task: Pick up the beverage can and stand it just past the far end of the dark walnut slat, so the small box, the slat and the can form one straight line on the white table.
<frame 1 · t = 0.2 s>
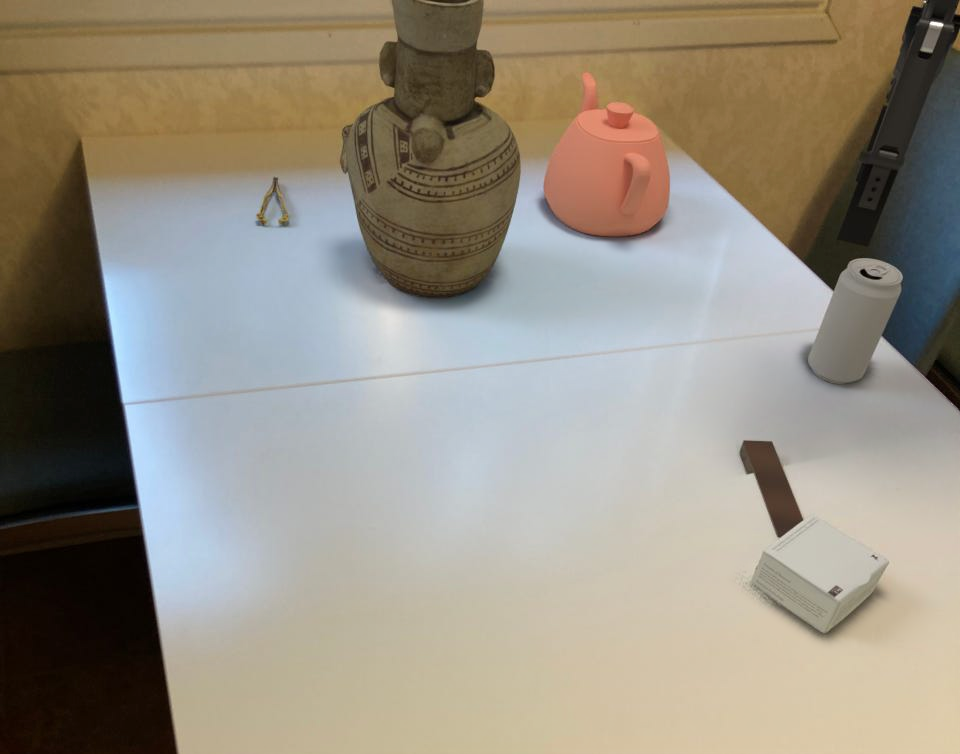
hand: (861, 211, 85), 21 cm above the table, tool pointing down, fingers open, 13 cm apart
walnut slat: (770, 497, 89), on the table
teapot: (599, 210, 128), on the table
small box: (805, 598, 81), on the table
beverage can: (833, 372, 105), on the table
tongs: (271, 206, 122), on the table
ceramic vessel: (429, 274, 113), on the table
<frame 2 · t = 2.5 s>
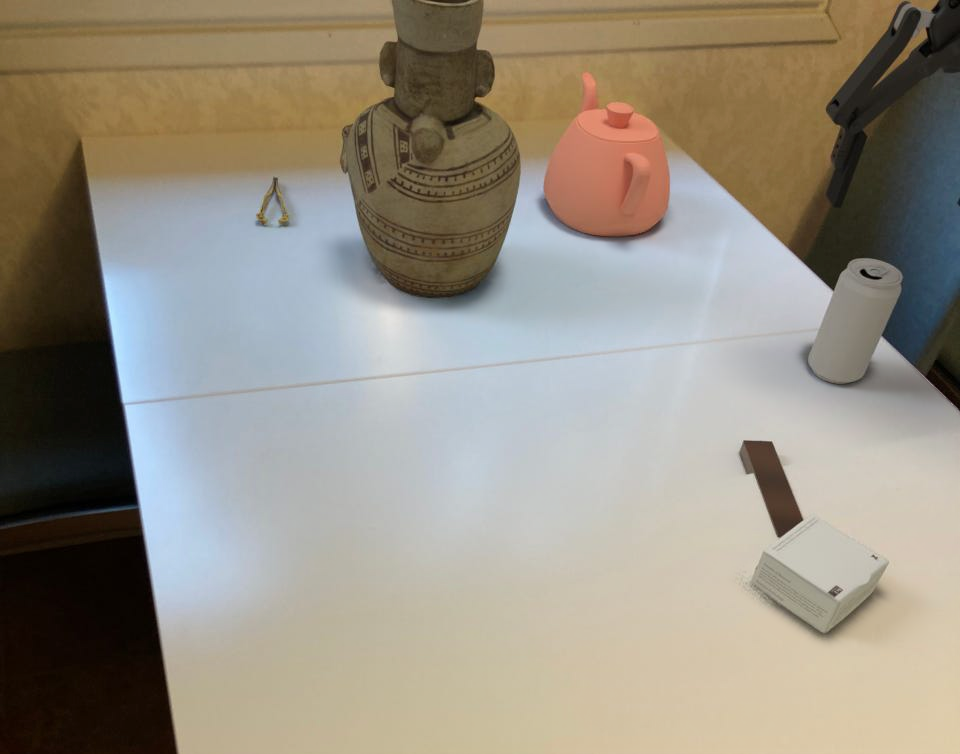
hand: (899, 206, 91), 19 cm above the table, tool pointing down, fingers open, 13 cm apart
nothing on the table moved.
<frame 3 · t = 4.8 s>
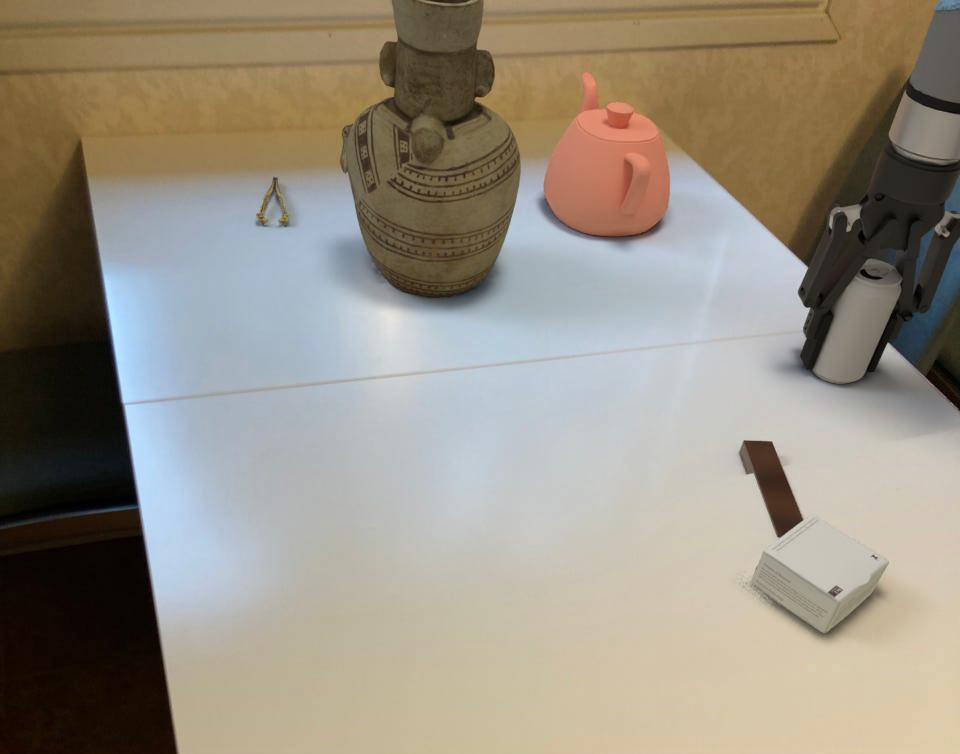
hand: (836, 364, 104), 1 cm above the table, tool pointing down, fingers closed on beverage can, 6 cm apart
beverage can: (833, 372, 105), on the table, touching gripper
everything else where it was.
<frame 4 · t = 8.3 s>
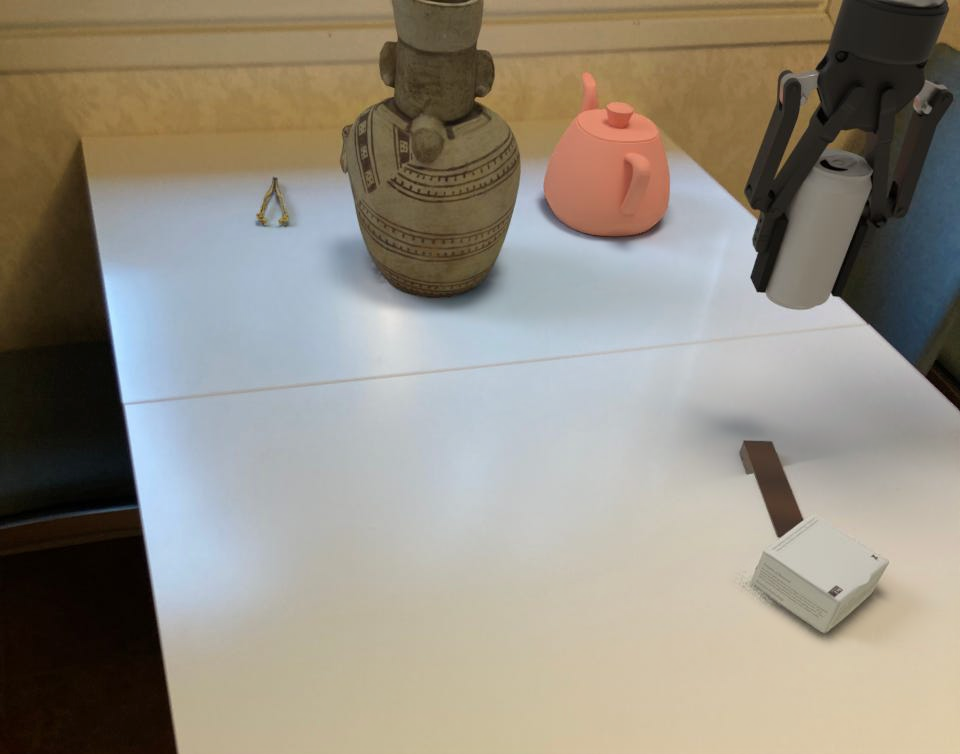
hand: (795, 286, 85), 16 cm above the table, tool pointing down, fingers closed on beverage can, 6 cm apart
beverage can: (791, 298, 86), point 14 cm above the table, touching gripper
everything else where it was.
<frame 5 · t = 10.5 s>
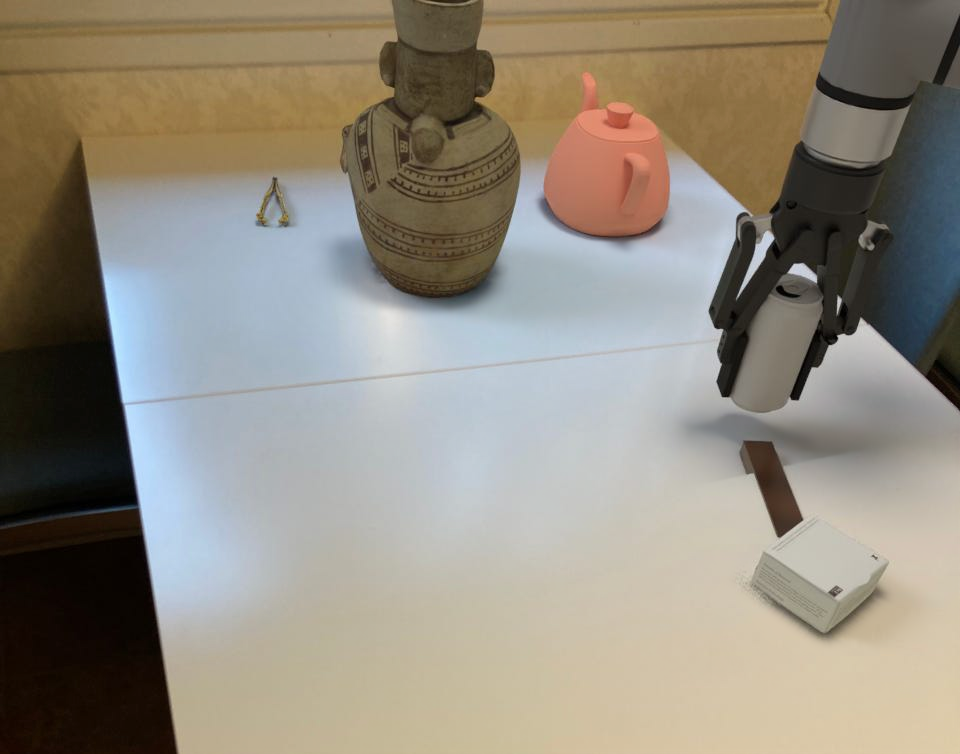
hand: (757, 390, 93), 5 cm above the table, tool pointing down, fingers closed on beverage can, 6 cm apart
beverage can: (753, 400, 94), point 3 cm above the table, touching gripper
everything else where it was.
when the fingers open (1 cm above the table, at t = 11.9 s): beverage can stays where it is, on the table.
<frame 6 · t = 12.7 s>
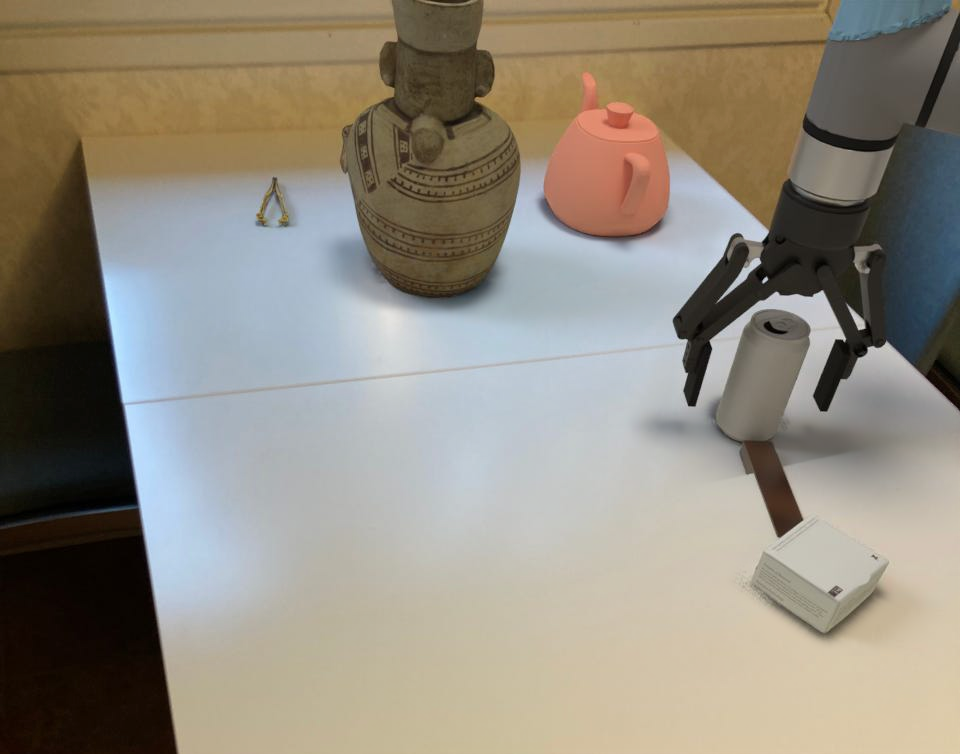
hand: (754, 401, 94), 3 cm above the table, tool pointing down, fingers open, 13 cm apart
beverage can: (743, 430, 97), on the table
everything else where it was.
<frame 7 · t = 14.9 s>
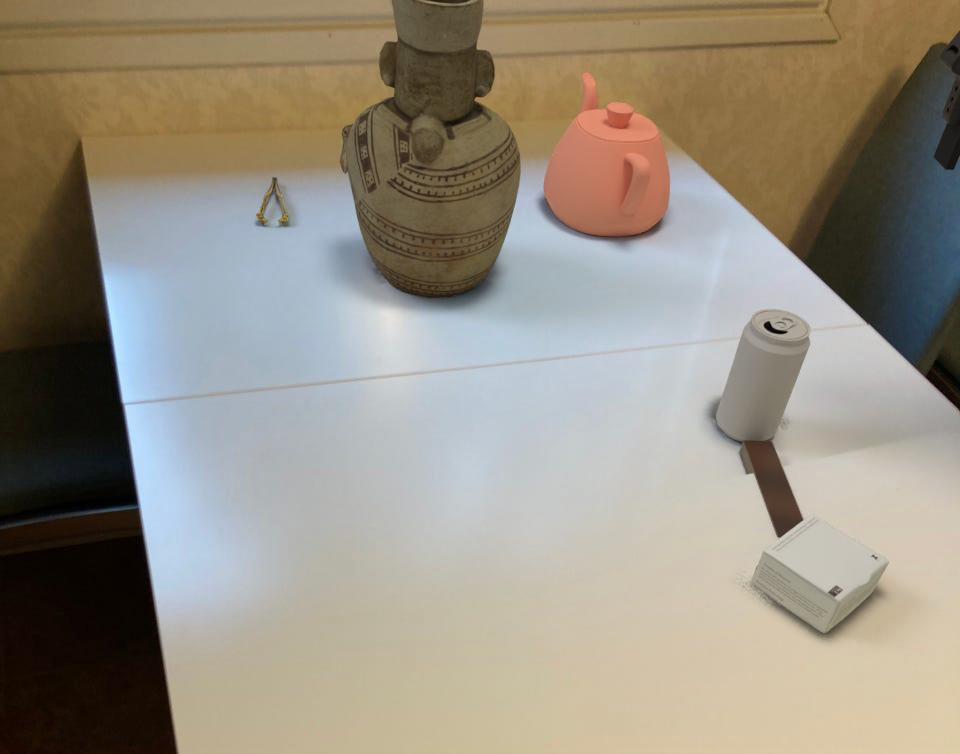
nothing on the table moved.
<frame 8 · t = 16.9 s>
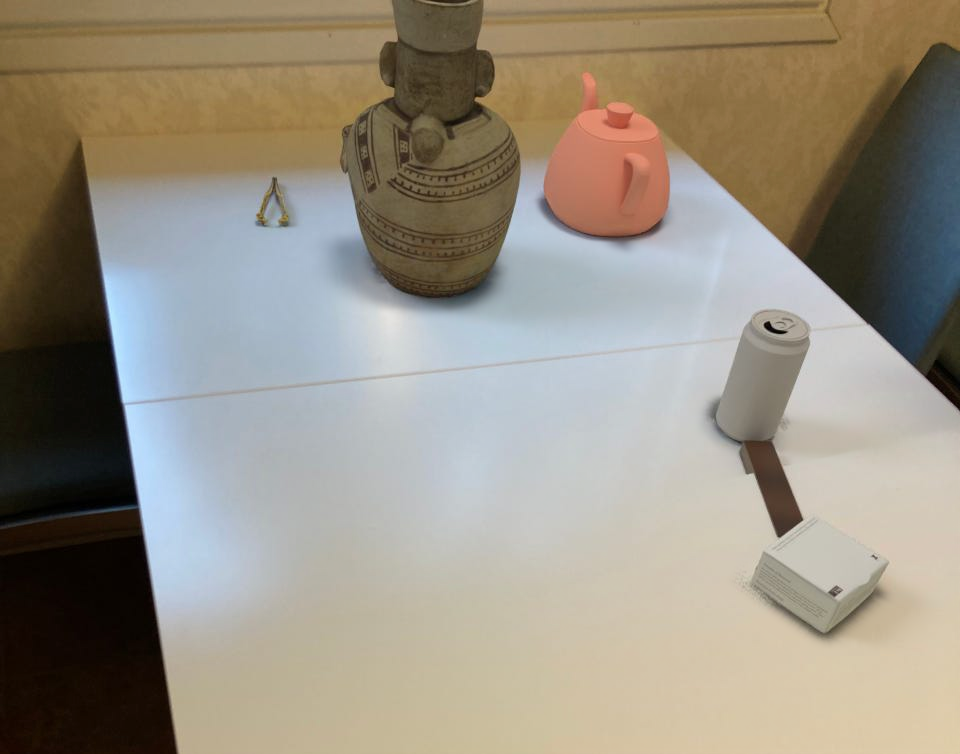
nothing on the table moved.
at the end: beverage can 0.1 cm from the target spot on the table beside the walnut slat, on the table; beverage can tilted 0°; small box moved 0.0 cm from its start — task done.
